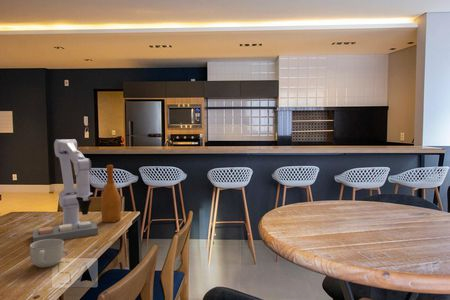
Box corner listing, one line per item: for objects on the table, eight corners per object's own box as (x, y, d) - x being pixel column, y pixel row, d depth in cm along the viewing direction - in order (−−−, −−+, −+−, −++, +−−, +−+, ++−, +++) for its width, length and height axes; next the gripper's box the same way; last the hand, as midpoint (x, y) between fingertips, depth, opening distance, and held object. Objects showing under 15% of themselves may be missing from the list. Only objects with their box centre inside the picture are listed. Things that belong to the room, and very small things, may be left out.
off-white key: (59, 229, 148) (59, 225, 148) (71, 227, 151) (71, 223, 151) (60, 232, 144) (60, 228, 144) (72, 230, 147) (72, 226, 147)
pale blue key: (78, 226, 152) (78, 222, 152) (89, 225, 155) (89, 221, 155) (79, 229, 148) (79, 225, 148) (91, 227, 151) (90, 223, 151)
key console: (33, 236, 146) (33, 230, 146) (94, 227, 159) (93, 221, 159) (33, 244, 136) (32, 237, 136) (98, 234, 149) (97, 227, 149)
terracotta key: (39, 232, 144) (39, 228, 144) (52, 230, 147) (51, 226, 147) (39, 235, 140) (39, 231, 140) (52, 233, 143) (52, 229, 142)
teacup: (39, 258, 121) (38, 238, 121) (69, 257, 122) (68, 237, 122) (19, 275, 107) (18, 252, 107) (53, 274, 108) (52, 251, 108)
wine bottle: (116, 216, 178) (114, 163, 176) (124, 220, 171) (122, 164, 169) (98, 220, 172) (96, 164, 169) (106, 224, 164) (104, 166, 162)
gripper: (94, 185, 146) (95, 215, 147) (89, 181, 158) (90, 208, 159) (77, 187, 142) (78, 217, 143) (74, 182, 155) (75, 210, 156)
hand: (84, 212), depth 151 cm, fingers open, 6 cm apart
